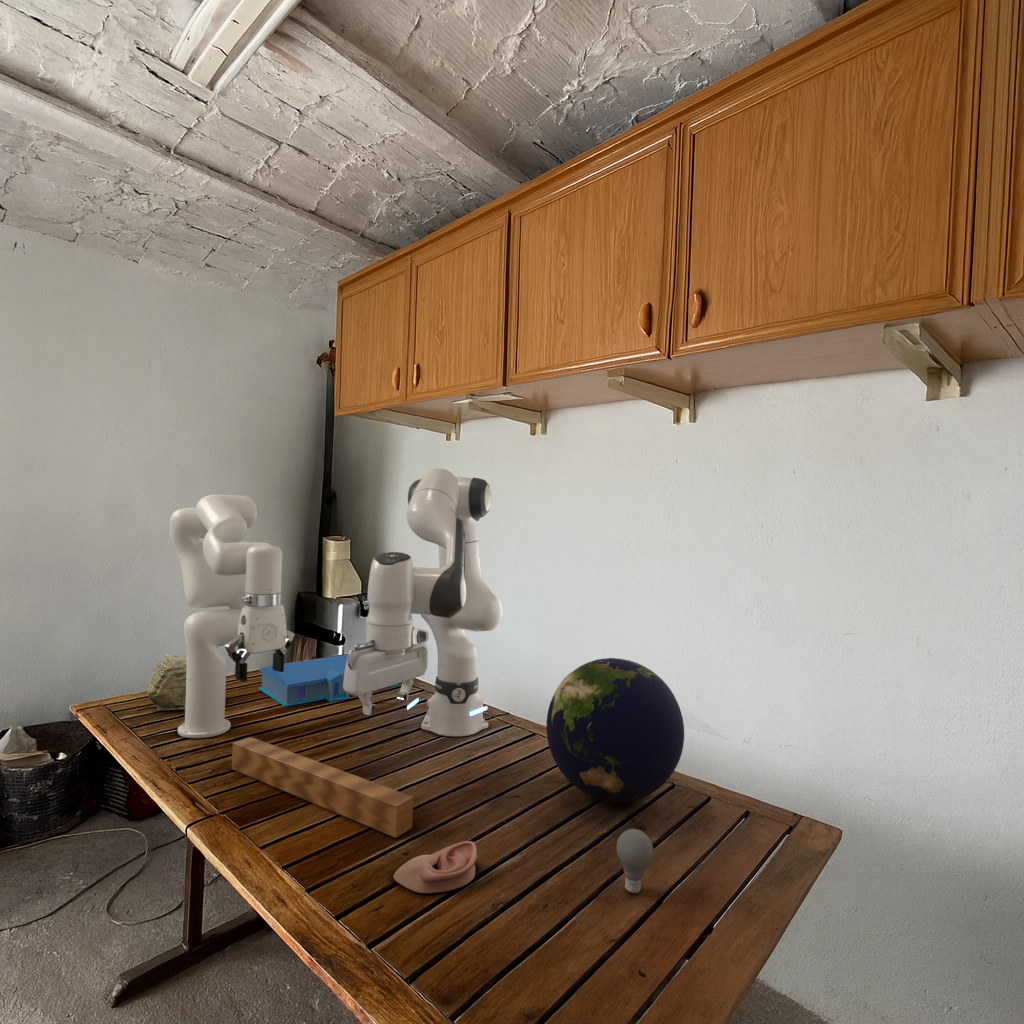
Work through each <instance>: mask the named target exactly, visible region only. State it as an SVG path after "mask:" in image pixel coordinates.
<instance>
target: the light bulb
mask: <svg viewBox="0 0 1024 1024" xmlns="http://www.w3.org/2000/svg"><path fill="white" fill-rule="evenodd" d="M615 849H616V854H617V857H618V859H619V861H620V863H621V865H622V867H623V873H624V874H623V875H624V876H625V878H624V888H625V890H627V891H628V892H630V893H634V894H635V893H639V892H640V891H641V889H642V887H641V886H642V879H643V877H644V875H645V871H646V868H647V867H648V866H649V864H650V863H651V861H652V859H653V855H654V847H653V843H652V841H651V838H649V836H648V835H647V834H646V833H645V832H643V831H642V830H641V829H636V828H629V829H627V830H625V831H623V832H622V833H621V834H620V835H619V837H618V839H617V841H616V847H615Z"/></svg>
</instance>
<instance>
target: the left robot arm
mask: <svg viewBox="0 0 1024 1024" xmlns="http://www.w3.org/2000/svg"><path fill="white" fill-rule="evenodd" d="M257 516H258V508H257V505H256V503H255V501H254V500H253V499H252V498H251V497H250V496H248V495H245V494H244V495H243V494H220V493H219V494H218V493H217V494H216V493H215V494H214V493H213V494H208V495H205V496H203V497H202V498H200V499H199V501H198V502H197V504H196V506H191V507H184V508H183V507H182V508H179V509H177V510H175V511H173V512H172V514H171V515H170V518H169V522H168V523H169V524H168V529H169V530H168V531H169V537H170V540H171V543H172V545H173V548H174V550H175V552H176V555H177V557H178V560H179V562H180V569H181V574H182V582H183V588H184V595H185V600H186V603H187V604H188V605H189V606H190V608H191V607H192V608H195V609H208V608H219V607H221V608H222V607H228V608H227V609H226V608H225V609H212V610H203V611H198V612H194V613H193V614H190V615H189V616H187V618H186V619H185V621H184V623H183V635H184V641H185V642H184V643H185V651H186V652H185V653H186V657H187V668H186V701H185V709H184V722H182V724H180V725H179V726H178V727H177V734H178V735H179V736H180V737H182V738H188V739H207V738H212V737H216V736H220V735H222V734H224V733H227V732H228V731H230V729H231V727H232V725H231V723H232V722H231V721H230V720H228V719H226V718H225V715H226V692H227V691H226V689H227V661H226V659H225V657H224V656H223V654H222V653H221V652H220V651H219V650H218V647H223V646H224V648H225V651H226V653H227V655H228V657H229V658H230V659H231V660H232V662H234V663H235V665H234V675H235V677H234V678H235V679H236V681H240V682H246V681H248V663H247V662H246V661H247V660H248V658H249V657H250V656H251V655H257V654H262V653H268V652H273V651H274V652H273V653H272V665H273V670H274V671H278V672H283V671H284V664H285V655H287V653H288V650H289V648H290V647H291V646H292V642H293V639H294V637H295V633H294V632H292V631H290V630H288V629H287V618H286V611H285V607H284V604H281V597H282V596H281V595H282V594H281V593H282V572H283V571H282V570H283V569H282V568H283V550H282V549H281V548H280V547H279V546H276V545H272V544H271V543H269V542H263V541H251V542H250V541H242V540H243V539H245V537H246V536H247V535H246V534H247V532H248V529H250V528H251V527H252V526H253V525H254V524H255V522H256V521H257V518H258V517H257ZM200 539H203V541H200ZM236 648H237V651H236Z"/></svg>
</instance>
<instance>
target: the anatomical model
mask: <svg viewBox="0 0 1024 1024" xmlns="http://www.w3.org/2000/svg"><path fill="white" fill-rule="evenodd" d="M477 858H478V849H477V845H476V843H475V842H474V841H472V840H465V841H460V842H457V843H455V844H451V845H449V846H446V847H444V848H442V849H439V850H438V851H435V852H433V853H432V854H422V855H417V856H415V857H413V858H411V859H409V860H407V861H406V862H405V863H403V864H402V865H401V866H400V867H399V868H397V870H396V871H395V872H394V874H393V876H392V878H393V879H394V881H395V882H396V883H398V884H399V885H400V886H402V887H404V888H406V889H408V890H410V891H412V892H414V893H418V894H435V893H443V892H448V891H452V890H456V889H459V888H462V887H464V886H466V885H468V884H469V883H471V882H472V881H473V880H474V878H475V876H476V865H475V863H476V861H477Z"/></svg>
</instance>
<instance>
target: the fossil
mask: <svg viewBox="0 0 1024 1024" xmlns="http://www.w3.org/2000/svg"><path fill="white" fill-rule="evenodd" d="M186 668H187V656H183V657H182V656H178V655H175V654H174V655H173V654H165V655H164V656H163V657H162V658H161V659H160V660H159V662H158V663H157V666H156V667H155V669H154V670H153V672H152V675H151V677H150V680H149V684H148V688H147V697H148V699H149V700H150V701H152V703H153V704H154V706H155V711H158V712H159V711H162V712H163V711H177V710H185V701H186Z"/></svg>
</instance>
